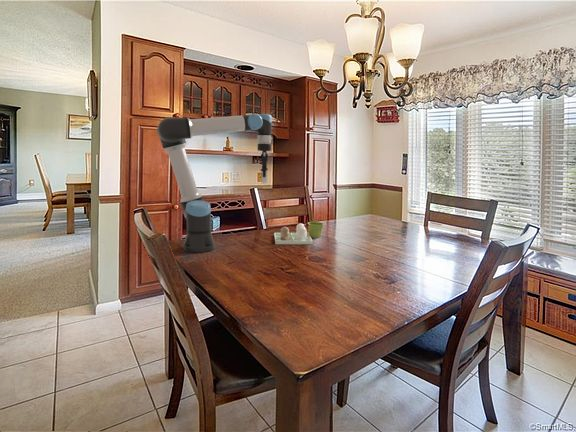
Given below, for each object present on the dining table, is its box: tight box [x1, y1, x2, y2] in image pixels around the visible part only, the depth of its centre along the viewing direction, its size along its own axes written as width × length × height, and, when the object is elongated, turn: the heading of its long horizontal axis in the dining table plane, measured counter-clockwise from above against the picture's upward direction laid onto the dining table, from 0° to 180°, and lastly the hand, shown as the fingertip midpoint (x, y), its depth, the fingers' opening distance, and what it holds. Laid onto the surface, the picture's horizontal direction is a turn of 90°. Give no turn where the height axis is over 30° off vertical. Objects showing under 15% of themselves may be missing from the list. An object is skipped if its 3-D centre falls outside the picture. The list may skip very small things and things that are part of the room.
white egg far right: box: [298, 226, 308, 241], centre depth 186 cm, size 5×5×8 cm
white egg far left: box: [295, 223, 305, 236], centre depth 195 cm, size 5×5×8 cm
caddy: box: [273, 232, 314, 245], centre depth 191 cm, size 20×20×3 cm
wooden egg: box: [280, 226, 290, 241], centre depth 185 cm, size 5×5×8 cm
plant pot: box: [307, 221, 325, 239], centre depth 199 cm, size 9×9×9 cm
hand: (264, 182), depth 192 cm, fingers open, 13 cm apart
